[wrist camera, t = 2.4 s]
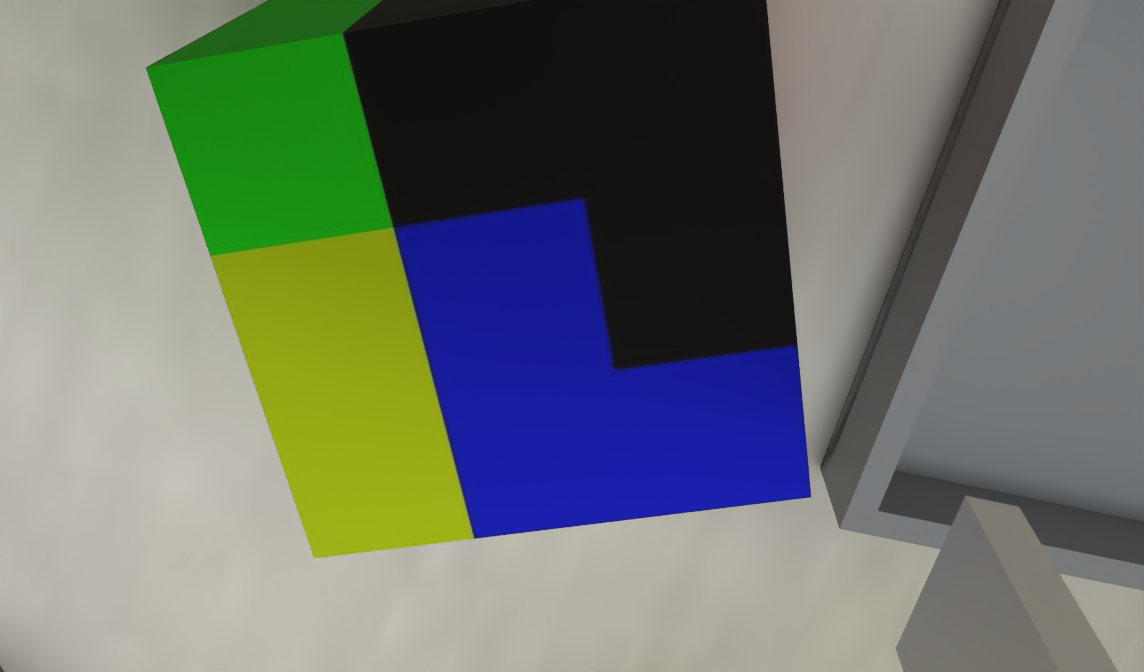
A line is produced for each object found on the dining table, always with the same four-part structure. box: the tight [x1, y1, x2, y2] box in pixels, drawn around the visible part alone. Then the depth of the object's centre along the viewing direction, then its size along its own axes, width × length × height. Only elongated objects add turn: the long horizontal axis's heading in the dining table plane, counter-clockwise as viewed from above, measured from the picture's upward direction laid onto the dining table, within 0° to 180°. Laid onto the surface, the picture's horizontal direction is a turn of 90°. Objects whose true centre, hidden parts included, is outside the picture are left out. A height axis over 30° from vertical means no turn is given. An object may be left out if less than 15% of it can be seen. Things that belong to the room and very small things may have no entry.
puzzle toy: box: [146, 0, 811, 558], centre depth 23 cm, size 10×10×10 cm
